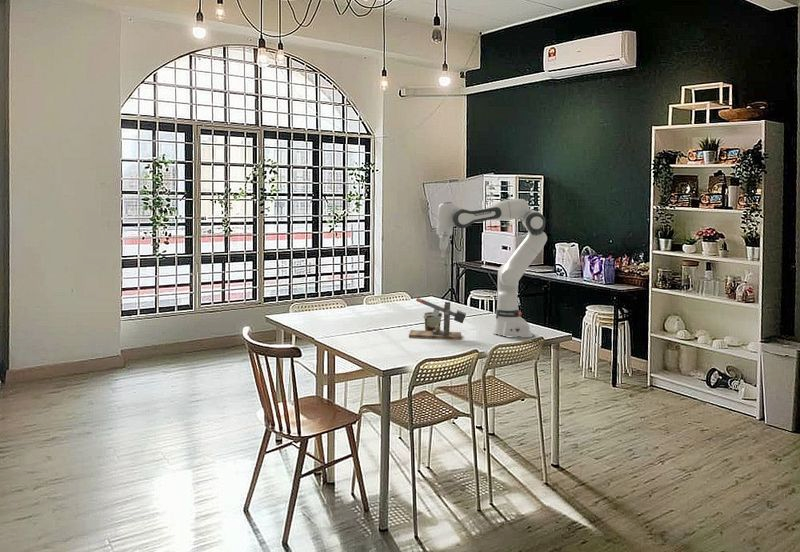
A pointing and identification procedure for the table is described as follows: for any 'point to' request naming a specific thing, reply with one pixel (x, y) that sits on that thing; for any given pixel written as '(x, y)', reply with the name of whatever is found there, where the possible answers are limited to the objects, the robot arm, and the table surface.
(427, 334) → the toy catapult
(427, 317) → the food container
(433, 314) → the lever
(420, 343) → the table surface
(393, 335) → the table surface
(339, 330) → the table surface
